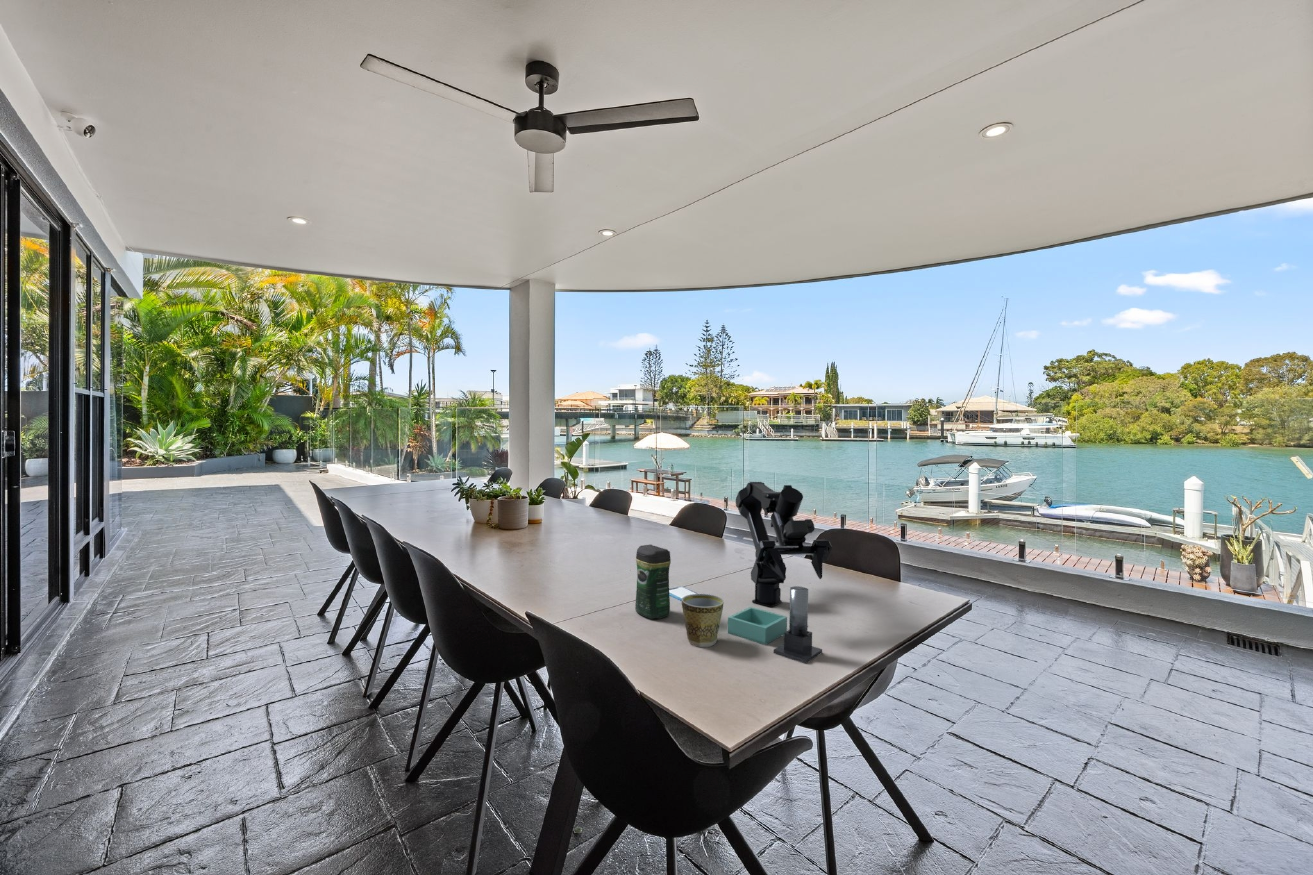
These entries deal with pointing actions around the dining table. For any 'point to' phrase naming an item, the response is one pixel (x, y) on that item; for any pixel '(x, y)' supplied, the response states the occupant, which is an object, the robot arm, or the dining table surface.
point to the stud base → (797, 657)
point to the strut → (798, 623)
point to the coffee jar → (652, 581)
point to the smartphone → (680, 592)
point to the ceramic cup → (702, 618)
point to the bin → (757, 625)
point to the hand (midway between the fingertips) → (803, 578)
